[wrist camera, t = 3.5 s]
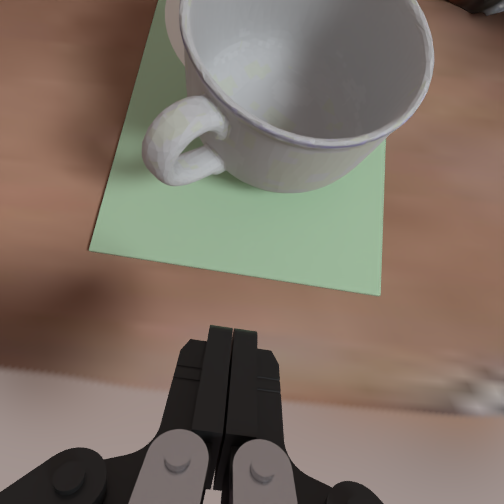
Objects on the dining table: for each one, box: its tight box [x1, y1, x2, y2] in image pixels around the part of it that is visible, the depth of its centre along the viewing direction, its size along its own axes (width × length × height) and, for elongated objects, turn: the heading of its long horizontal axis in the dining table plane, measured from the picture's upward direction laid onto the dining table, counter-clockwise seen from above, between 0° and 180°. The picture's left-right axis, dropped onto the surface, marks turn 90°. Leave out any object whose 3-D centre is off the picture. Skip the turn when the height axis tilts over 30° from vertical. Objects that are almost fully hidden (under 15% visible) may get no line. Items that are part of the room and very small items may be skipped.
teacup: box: [142, 0, 434, 193], centre depth 18 cm, size 14×11×8 cm
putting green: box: [89, 0, 386, 296], centre depth 22 cm, size 16×27×2 cm, turn 172°
